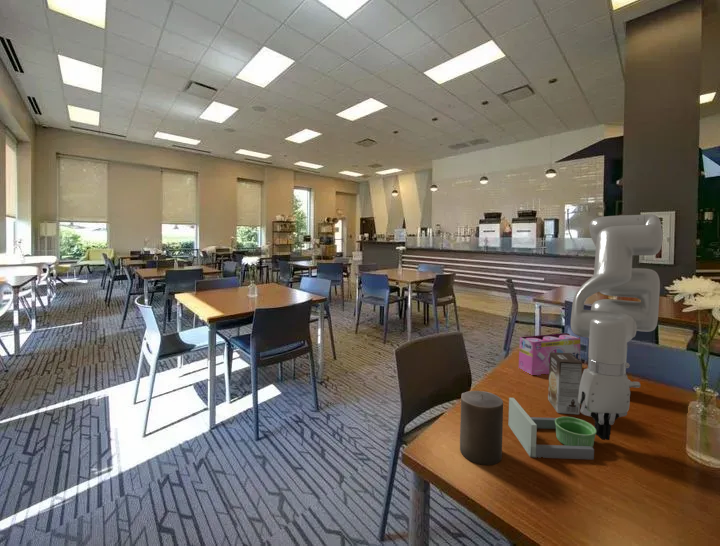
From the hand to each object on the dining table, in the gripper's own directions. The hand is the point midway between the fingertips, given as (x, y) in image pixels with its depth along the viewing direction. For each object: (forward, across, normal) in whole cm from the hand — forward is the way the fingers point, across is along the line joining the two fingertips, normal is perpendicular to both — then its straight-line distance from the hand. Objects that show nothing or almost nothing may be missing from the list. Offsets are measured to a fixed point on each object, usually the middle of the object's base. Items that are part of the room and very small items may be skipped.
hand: (602, 436), depth 86 cm
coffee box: (+2, 0, -19) cm, 19 cm away
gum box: (+2, -11, -51) cm, 52 cm away
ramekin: (+2, +7, 0) cm, 7 cm away
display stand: (+2, +13, 0) cm, 13 cm away
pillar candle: (+2, +32, +6) cm, 32 cm away
